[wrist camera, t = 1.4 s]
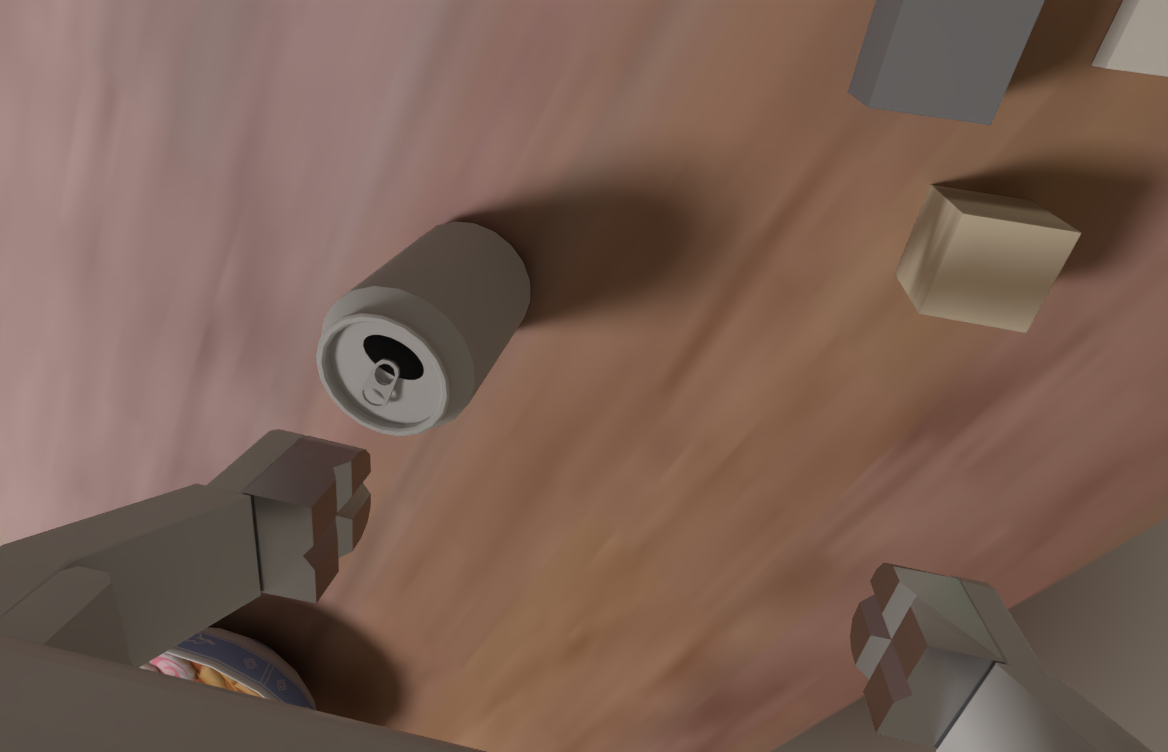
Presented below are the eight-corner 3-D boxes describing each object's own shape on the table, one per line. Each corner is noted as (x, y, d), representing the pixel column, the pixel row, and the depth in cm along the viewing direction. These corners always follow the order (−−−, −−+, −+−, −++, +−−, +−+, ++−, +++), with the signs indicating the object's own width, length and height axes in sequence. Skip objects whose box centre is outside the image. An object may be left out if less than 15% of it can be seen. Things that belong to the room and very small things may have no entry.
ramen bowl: (210, 541, 56) (137, 616, 49) (405, 683, 61) (364, 769, 55) (117, 634, 68) (48, 706, 61) (287, 746, 73) (242, 823, 67)
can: (556, 261, 36) (488, 363, 26) (503, 355, 40) (426, 476, 30) (441, 191, 35) (324, 268, 25) (398, 294, 39) (282, 397, 29)
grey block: (884, -27, 26) (913, -32, 22) (998, -13, 26) (1051, -16, 22) (847, 91, 29) (868, 107, 24) (951, 106, 28) (990, 125, 24)
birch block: (930, 183, 30) (963, 213, 26) (1031, 199, 29) (1081, 233, 25) (894, 273, 32) (918, 313, 28) (986, 289, 32) (1026, 332, 28)
